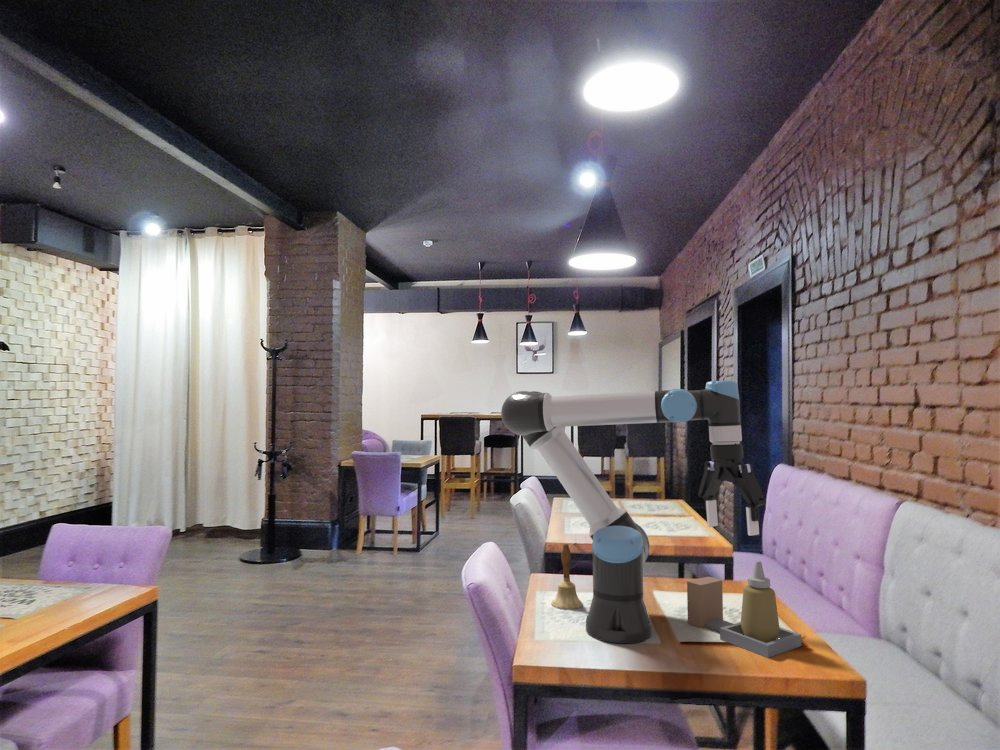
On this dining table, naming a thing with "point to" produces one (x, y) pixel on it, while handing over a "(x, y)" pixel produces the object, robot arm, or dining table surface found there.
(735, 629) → the grey tray with block
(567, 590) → the hand bell
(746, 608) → the squeeze bottle
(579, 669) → the dining table surface
